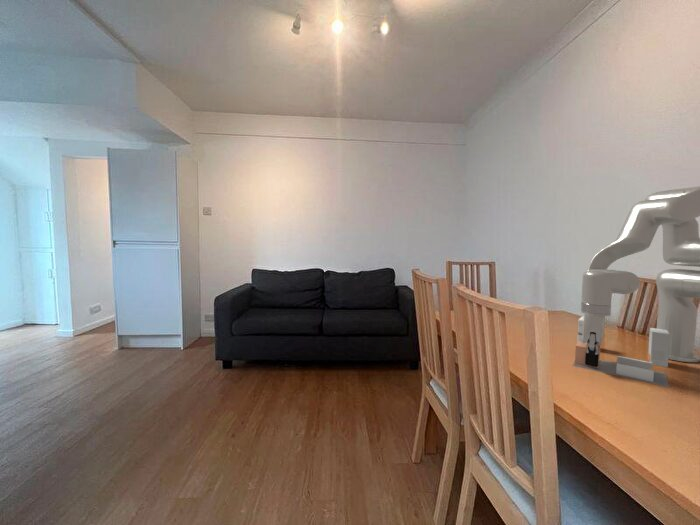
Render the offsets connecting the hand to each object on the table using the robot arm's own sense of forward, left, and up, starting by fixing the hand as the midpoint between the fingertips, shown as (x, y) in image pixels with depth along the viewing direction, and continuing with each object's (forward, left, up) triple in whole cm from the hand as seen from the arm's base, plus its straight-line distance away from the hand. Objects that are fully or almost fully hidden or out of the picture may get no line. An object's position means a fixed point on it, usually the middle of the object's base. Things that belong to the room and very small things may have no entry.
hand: (592, 361), depth 99 cm
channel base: (0, +6, -2) cm, 7 cm away
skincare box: (-16, +16, -2) cm, 23 cm away
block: (0, -1, -1) cm, 2 cm away
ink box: (-20, -3, -2) cm, 20 cm away
